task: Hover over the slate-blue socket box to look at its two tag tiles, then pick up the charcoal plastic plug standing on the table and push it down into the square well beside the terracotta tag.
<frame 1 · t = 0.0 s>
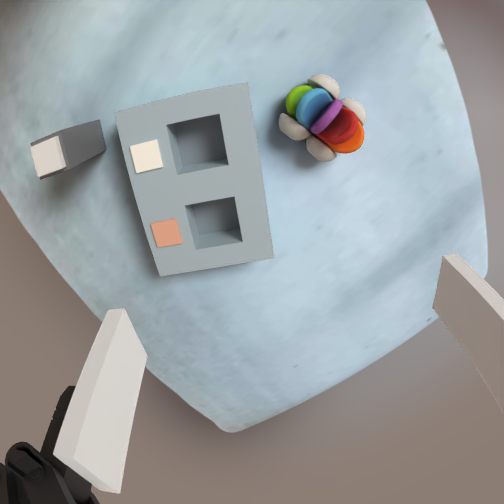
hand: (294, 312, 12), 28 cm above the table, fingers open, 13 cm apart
socket box: (201, 175, 37), on the table
rainbow petal fan toy: (318, 116, 35), on the table
plug: (89, 139, 34), on the table
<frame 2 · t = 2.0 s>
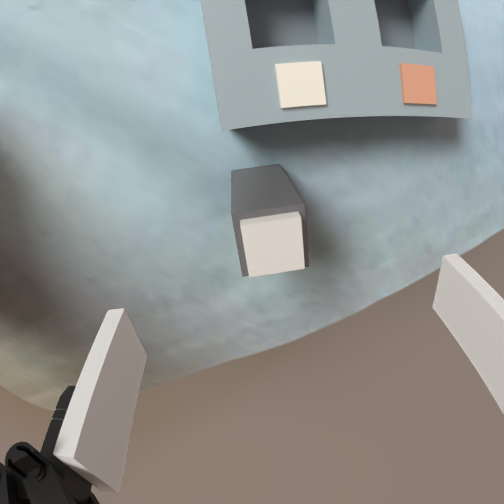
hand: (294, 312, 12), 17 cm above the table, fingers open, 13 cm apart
socket box: (333, 33, 20), on the table
plug: (258, 189, 27), on the table
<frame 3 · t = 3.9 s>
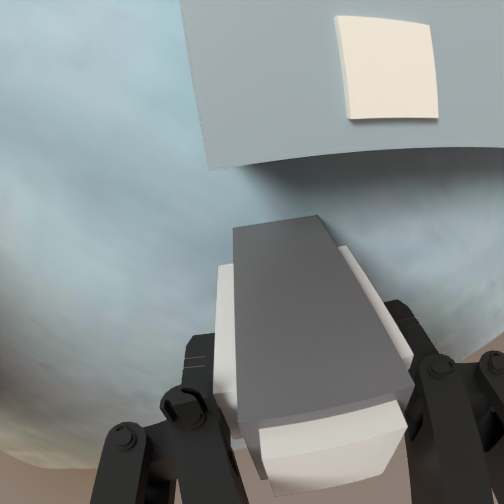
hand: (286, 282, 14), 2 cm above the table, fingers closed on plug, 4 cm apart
plug: (279, 258, 16), on the table, touching gripper
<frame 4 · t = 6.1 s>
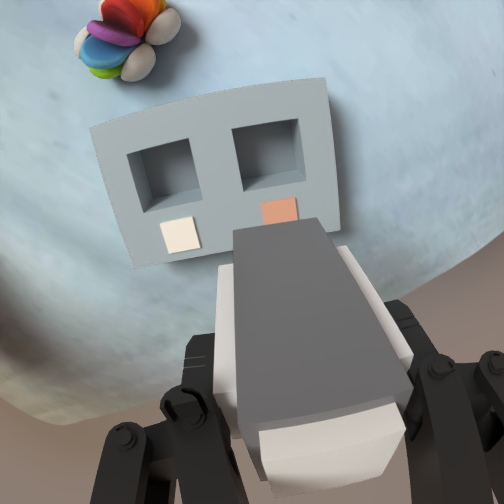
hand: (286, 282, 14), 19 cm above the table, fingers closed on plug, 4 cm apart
socket box: (220, 163, 30), on the table
rainbow petal fan toy: (132, 36, 23), on the table
plug: (279, 260, 16), point 17 cm above the table, touching gripper
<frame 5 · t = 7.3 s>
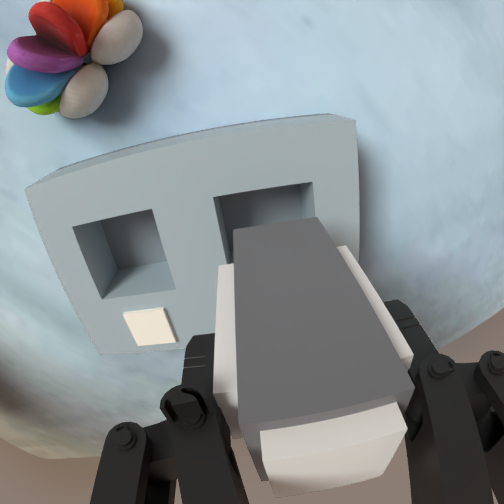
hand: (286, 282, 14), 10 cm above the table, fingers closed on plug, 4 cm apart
socket box: (202, 227, 23), on the table
rainbow petal fan toy: (82, 51, 16), on the table
plug: (280, 259, 16), point 8 cm above the table, touching gripper
when the fingers open (6 cm above the table, at t = 8.4 s): plug drops 2 cm, resting on socket box.
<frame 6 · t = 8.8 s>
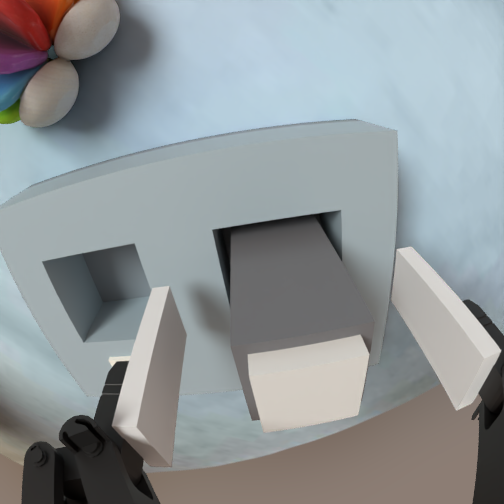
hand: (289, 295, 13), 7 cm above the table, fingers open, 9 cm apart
socket box: (200, 256, 19), on the table
rainbow petal fan toy: (52, 45, 13), on the table
plug: (272, 238, 18), point 1 cm above the table, touching socket box
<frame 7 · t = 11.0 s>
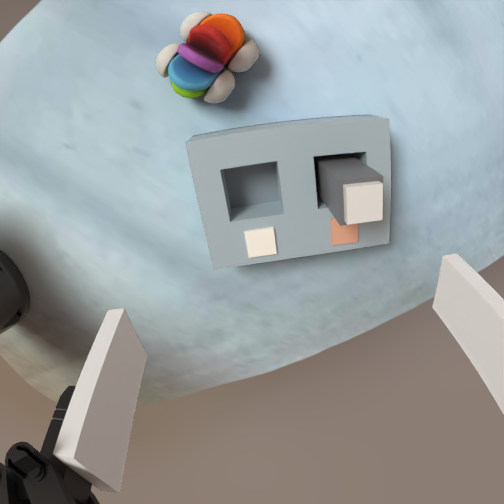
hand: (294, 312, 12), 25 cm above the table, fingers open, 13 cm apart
socket box: (292, 181, 35), on the table
rainbow petal fan toy: (209, 59, 29), on the table
plug: (331, 171, 34), point 1 cm above the table, touching socket box
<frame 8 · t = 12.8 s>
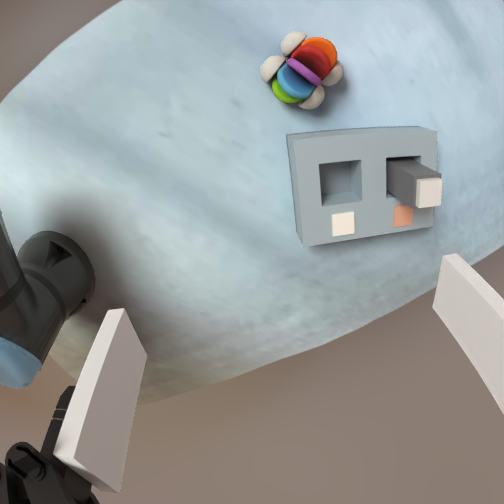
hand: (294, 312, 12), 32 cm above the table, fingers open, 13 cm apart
socket box: (360, 176, 42), on the table
rainbow petal fan toy: (298, 71, 35), on the table
plug: (390, 169, 41), point 1 cm above the table, touching socket box
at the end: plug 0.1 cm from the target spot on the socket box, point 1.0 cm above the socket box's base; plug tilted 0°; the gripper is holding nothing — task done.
